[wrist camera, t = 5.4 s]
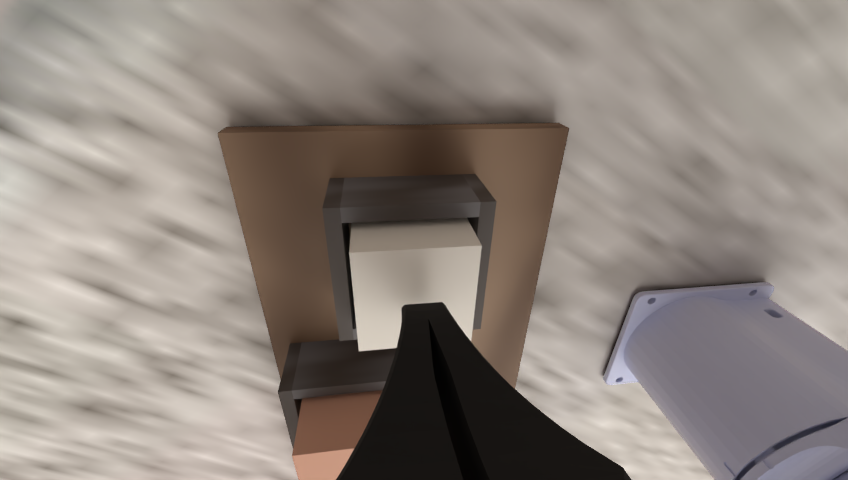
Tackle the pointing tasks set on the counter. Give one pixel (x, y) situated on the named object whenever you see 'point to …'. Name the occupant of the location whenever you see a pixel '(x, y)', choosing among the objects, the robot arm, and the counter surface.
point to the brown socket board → (385, 201)
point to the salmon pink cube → (330, 432)
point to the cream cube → (411, 274)
